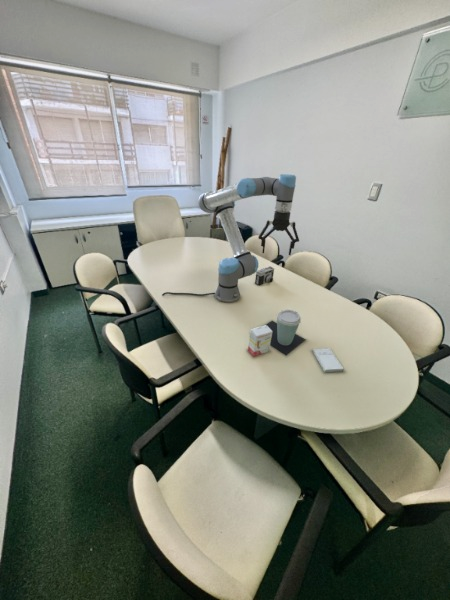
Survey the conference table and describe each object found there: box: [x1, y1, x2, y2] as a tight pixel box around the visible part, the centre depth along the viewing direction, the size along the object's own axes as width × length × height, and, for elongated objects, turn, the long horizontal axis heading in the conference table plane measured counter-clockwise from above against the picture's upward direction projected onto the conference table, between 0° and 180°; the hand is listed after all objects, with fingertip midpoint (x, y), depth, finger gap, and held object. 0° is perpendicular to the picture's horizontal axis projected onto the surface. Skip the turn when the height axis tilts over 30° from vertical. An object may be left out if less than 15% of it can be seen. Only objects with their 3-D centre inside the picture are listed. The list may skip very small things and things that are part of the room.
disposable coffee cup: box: [276, 309, 302, 345], centre depth 111 cm, size 11×11×15 cm
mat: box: [265, 320, 306, 356], centre depth 117 cm, size 20×16×1 cm
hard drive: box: [312, 347, 345, 373], centre depth 104 cm, size 2×8×12 cm
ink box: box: [247, 324, 273, 358], centre depth 105 cm, size 9×5×12 cm, turn 116°
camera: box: [254, 266, 275, 287], centre depth 164 cm, size 14×8×10 cm, turn 130°
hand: (276, 253), depth 126 cm, fingers open, 13 cm apart
